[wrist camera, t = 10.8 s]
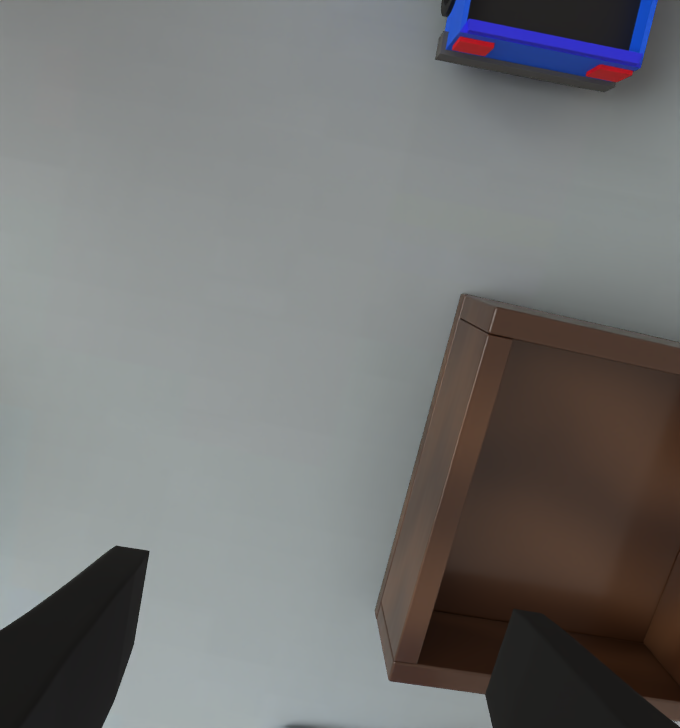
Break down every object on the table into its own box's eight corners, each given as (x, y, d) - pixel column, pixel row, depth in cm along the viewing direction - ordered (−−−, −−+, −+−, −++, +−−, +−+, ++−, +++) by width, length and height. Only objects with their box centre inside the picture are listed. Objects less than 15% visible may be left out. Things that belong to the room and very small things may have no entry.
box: (646, 652, 23) (706, 726, 19) (374, 611, 22) (387, 682, 18) (763, 361, 20) (856, 387, 17) (460, 292, 19) (495, 306, 15)
